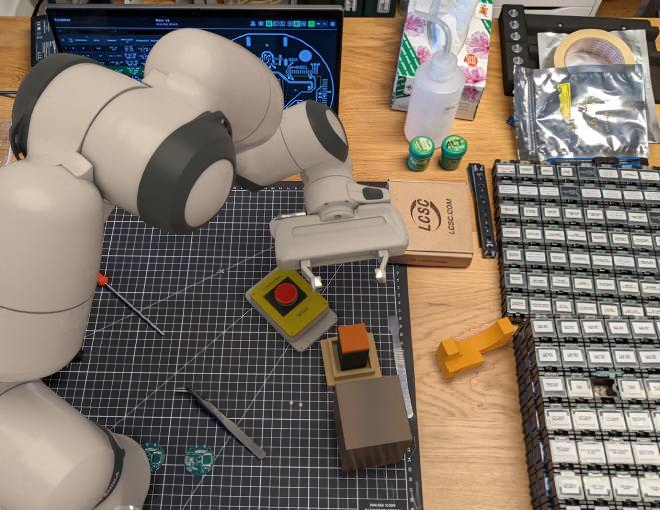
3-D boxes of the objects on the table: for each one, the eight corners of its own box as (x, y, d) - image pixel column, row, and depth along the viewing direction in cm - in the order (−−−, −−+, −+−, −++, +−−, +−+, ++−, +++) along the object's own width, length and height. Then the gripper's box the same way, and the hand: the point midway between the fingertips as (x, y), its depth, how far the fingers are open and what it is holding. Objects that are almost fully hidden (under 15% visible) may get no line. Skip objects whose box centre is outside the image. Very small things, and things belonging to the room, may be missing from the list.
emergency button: (281, 252, 109) (340, 309, 104) (282, 264, 113) (340, 319, 107) (240, 285, 106) (299, 345, 100) (243, 296, 109) (300, 354, 104)
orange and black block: (341, 371, 102) (342, 352, 94) (336, 347, 104) (338, 326, 96) (366, 367, 102) (369, 348, 94) (361, 343, 104) (364, 322, 96)
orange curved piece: (446, 378, 102) (453, 365, 97) (434, 355, 104) (441, 341, 99) (509, 354, 105) (520, 339, 99) (497, 331, 107) (507, 316, 101)
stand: (342, 472, 95) (345, 450, 81) (332, 414, 99) (334, 384, 85) (399, 463, 96) (413, 439, 82) (387, 406, 100) (398, 374, 86)
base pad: (327, 387, 101) (327, 381, 99) (320, 342, 105) (320, 335, 103) (381, 379, 102) (383, 373, 100) (372, 334, 106) (373, 327, 103)
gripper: (266, 204, 93) (277, 285, 87) (398, 188, 95) (419, 266, 89) (269, 226, 99) (279, 304, 92) (394, 211, 101) (413, 286, 94)
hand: (349, 285), depth 90 cm, fingers open, 8 cm apart
